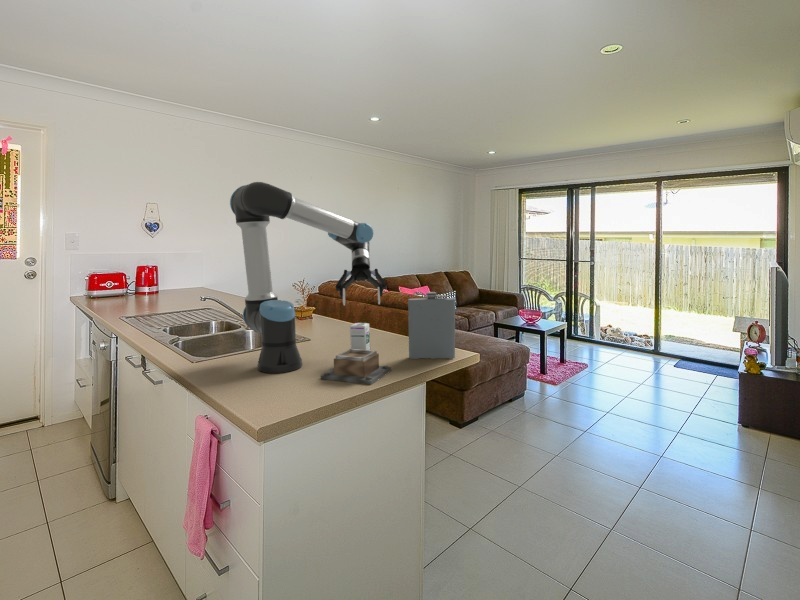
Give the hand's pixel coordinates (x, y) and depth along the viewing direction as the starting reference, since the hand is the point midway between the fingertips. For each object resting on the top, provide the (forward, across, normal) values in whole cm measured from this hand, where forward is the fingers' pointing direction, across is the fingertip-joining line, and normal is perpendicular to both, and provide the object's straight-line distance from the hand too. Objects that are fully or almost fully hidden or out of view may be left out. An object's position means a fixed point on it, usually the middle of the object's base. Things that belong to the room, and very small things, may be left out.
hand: (361, 302), depth 165 cm
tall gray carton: (+20, -26, -10) cm, 34 cm away
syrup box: (+23, +1, -6) cm, 24 cm away
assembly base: (+33, +2, +4) cm, 33 cm away
